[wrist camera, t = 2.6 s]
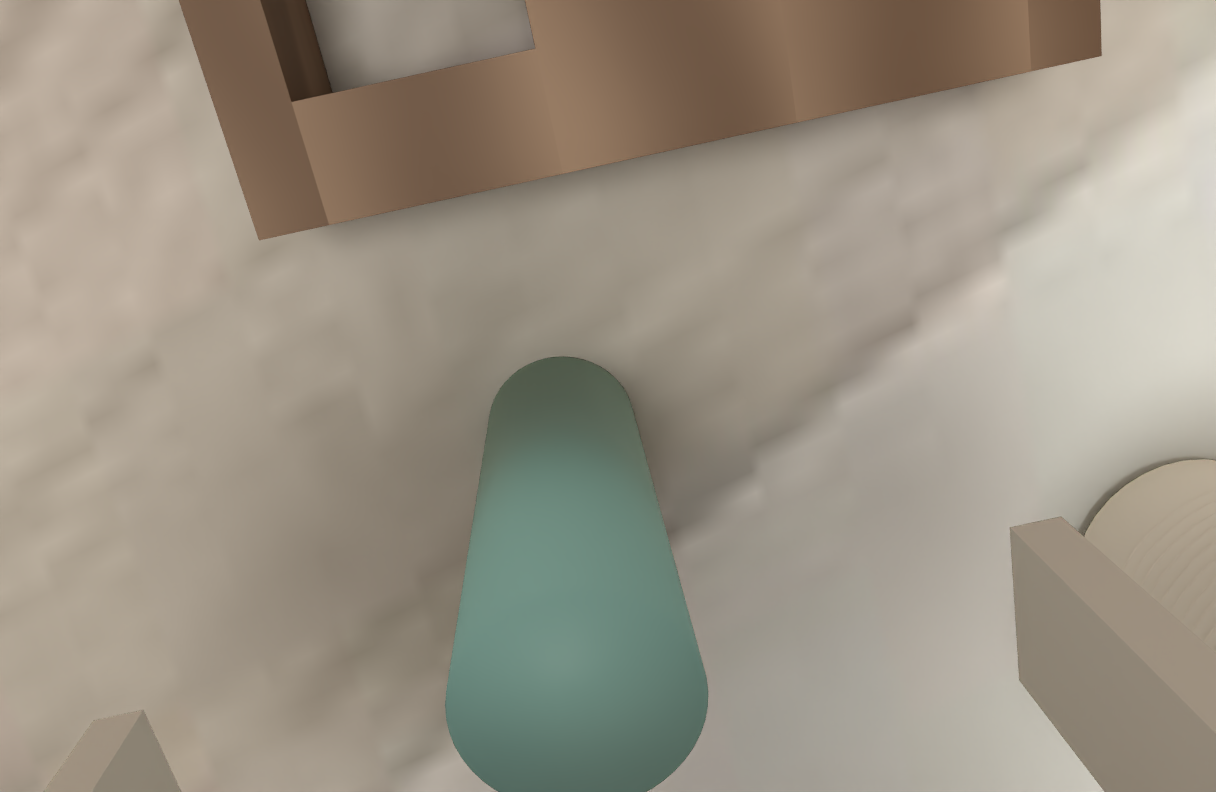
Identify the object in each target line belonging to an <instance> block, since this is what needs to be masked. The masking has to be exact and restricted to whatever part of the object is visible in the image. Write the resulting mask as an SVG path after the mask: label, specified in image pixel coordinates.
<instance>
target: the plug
mask: <svg viewBox="0 0 1216 792" xmlns="http://www.w3.org/2000/svg"><path fill="white" fill-rule="evenodd" d="M445 708H446V720H447V724H448V728H449V733H450V735H451V738H452V740H453V743H454V745H455V747H456V749H457V751H458V752H459V754H460V756H461V757H462V759H463V760H464V762H465V763H466V764H467V765H468V766H469V768H470V769H471V770H472V771H473V772H474V773H475V774H476V775H477V776H478V777H479V778H480V779H481V780H482V781H484V782H485V783H486V784H488V785H489V786H491V787H492V788H493V789H495V790H496V791H498V792H647V791H649V790H650V789H652V788H653V787H655V786H656V785H658V784H659V783H661V782H662V781H664V780H665V779H666V778H667V777H668V776H669V775H670V774H672V773H673V772H674V771H675V770H676V769H677V768H678V767H679V766H680V765H681V763H682V762H683V761H684V760H685V759H686V757H687V756H688V755H689V753H690V752H691V750H692V749H693V747H694V746H695V744H696V742H697V740H698V738H699V736H700V734H701V731H702V728H703V725H704V722H705V718H706V713H707V708H708V686H707V678H706V674H705V670H704V667H703V663H702V660H701V656H700V652H699V649H698V645H697V641H696V638H695V634H694V631H693V627H692V623H691V620H690V616H689V612H688V609H687V605H686V602H685V598H684V594H683V591H682V587H681V583H680V580H679V576H678V572H677V569H676V565H675V562H674V558H673V554H672V551H671V547H670V543H669V540H668V536H667V533H666V529H665V525H664V522H663V518H662V514H661V511H660V507H659V504H658V500H657V496H656V493H655V489H654V485H653V482H652V478H651V475H650V471H649V467H648V464H647V460H646V456H645V453H644V449H643V445H642V442H641V438H640V435H639V431H638V427H637V424H636V420H635V416H634V413H633V409H632V406H631V402H630V400H629V398H628V396H627V394H626V392H625V390H624V389H623V387H622V386H621V385H620V383H619V382H618V381H617V380H616V379H615V378H614V377H613V376H612V375H611V374H610V373H609V372H607V371H606V370H604V369H603V368H601V367H599V366H598V365H596V364H594V363H591V362H588V361H586V360H582V359H578V358H572V357H553V358H546V359H542V360H539V361H536V362H533V363H531V364H529V365H527V366H525V367H523V368H521V369H520V370H518V371H517V372H516V373H514V374H513V375H512V376H511V377H510V378H509V379H508V380H507V381H506V382H505V383H504V384H503V386H502V387H501V388H500V390H499V392H498V393H497V395H496V397H495V399H494V402H493V404H492V407H491V411H490V416H489V422H488V428H487V435H486V441H485V447H484V454H483V460H482V467H481V473H480V479H479V486H478V492H477V498H476V505H475V511H474V518H473V524H472V530H471V537H470V543H469V549H468V556H467V562H466V569H465V575H464V581H463V588H462V594H461V600H460V607H459V613H458V620H457V626H456V632H455V639H454V645H453V651H452V658H451V664H450V670H449V677H448V683H447V690H446V701H445Z"/></svg>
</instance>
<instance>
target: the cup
mask: <svg viewBox="0 0 1216 792" xmlns="http://www.w3.org/2000/svg"><path fill="white" fill-rule="evenodd" d="M1084 537H1085V538H1086V539H1087V540H1088V541H1089V542H1091V543H1092V544H1093V545H1094V546H1095V547H1096V548H1097V549H1098V550H1100V551H1101V552H1102V553H1103V554H1104V555H1105V556H1106V557H1108V558H1109V559H1110V560H1111V561H1112V562H1113V563H1114V564H1116V565H1117V566H1118V567H1119V568H1120V569H1121V570H1122V571H1123V572H1125V573H1126V574H1127V575H1128V576H1129V577H1130V578H1131V579H1133V580H1134V581H1135V582H1136V583H1137V584H1138V585H1139V586H1141V587H1142V588H1143V589H1144V590H1145V591H1146V592H1147V593H1149V594H1150V595H1151V596H1152V597H1153V598H1154V599H1155V600H1156V601H1158V602H1159V603H1160V604H1161V605H1162V606H1163V607H1164V608H1166V609H1167V610H1168V611H1169V612H1170V613H1171V614H1172V615H1174V616H1175V617H1176V618H1177V619H1178V620H1179V621H1180V622H1182V623H1183V624H1184V625H1185V626H1186V627H1187V628H1188V629H1189V630H1191V631H1192V632H1193V633H1194V634H1195V635H1196V636H1197V637H1199V638H1200V639H1201V640H1202V641H1203V642H1204V643H1205V644H1207V645H1208V646H1209V647H1210V648H1211V649H1212V650H1213V651H1215V652H1216V461H1215V460H1208V459H1201V460H1184V461H1180V462H1175V463H1171V464H1167V465H1163V466H1161V467H1159V468H1156V469H1154V470H1151V471H1149V472H1147V473H1144V474H1143V475H1141V476H1139V477H1138V478H1136V479H1135V480H1133V481H1131V482H1130V483H1128V484H1126V485H1125V486H1124V487H1123V488H1122V489H1121V490H1119V491H1118V492H1117V493H1116V494H1115V495H1114V496H1112V497H1111V498H1110V499H1109V500H1108V501H1107V503H1106V504H1105V505H1104V506H1103V507H1102V508H1101V510H1100V511H1099V512H1098V513H1097V514H1096V516H1095V517H1094V519H1093V521H1092V523H1091V524H1090V526H1089V528H1088V529H1087V531H1086V533H1085V535H1084Z"/></svg>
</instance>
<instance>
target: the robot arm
mask: <svg viewBox="0 0 1216 792" xmlns="http://www.w3.org/2000/svg"><path fill="white" fill-rule="evenodd" d="M1010 539H1011V555H1012V571H1013V587H1014V603H1015V619H1016V636H1017V652H1018V668H1019V680H1020V682H1021V683H1022V684H1023V686H1024V687H1025V688H1026V690H1027V691H1028V692H1029V694H1030V695H1031V696H1032V697H1033V699H1034V700H1035V701H1036V703H1037V704H1038V705H1039V707H1040V708H1041V709H1042V711H1043V712H1044V713H1045V714H1046V716H1047V717H1048V718H1049V720H1050V721H1051V722H1052V724H1053V725H1054V726H1055V727H1056V729H1057V730H1058V731H1059V733H1060V734H1061V735H1062V737H1063V738H1064V739H1065V741H1066V742H1067V743H1068V744H1069V746H1070V747H1071V748H1072V750H1073V751H1074V752H1075V754H1076V755H1077V756H1078V758H1079V759H1080V760H1081V761H1082V763H1083V764H1084V765H1085V767H1086V768H1087V769H1088V771H1089V772H1090V773H1091V775H1092V776H1093V777H1094V778H1095V780H1096V781H1097V782H1098V784H1099V785H1100V786H1101V788H1102V789H1103V790H1104V792H1216V652H1215V651H1213V650H1212V649H1211V648H1210V647H1209V646H1208V645H1207V644H1205V643H1204V642H1203V641H1202V640H1201V639H1200V638H1199V637H1197V636H1196V635H1195V634H1194V633H1193V632H1192V631H1191V630H1189V629H1188V628H1187V627H1186V626H1185V625H1184V624H1183V623H1182V622H1180V621H1179V620H1178V619H1177V618H1176V617H1175V616H1174V615H1172V614H1171V613H1170V612H1169V611H1168V610H1167V609H1166V608H1164V607H1163V606H1162V605H1161V604H1160V603H1159V602H1158V601H1156V600H1155V599H1154V598H1153V597H1152V596H1151V595H1150V594H1149V593H1147V592H1146V591H1145V590H1144V589H1143V588H1142V587H1141V586H1139V585H1138V584H1137V583H1136V582H1135V581H1134V580H1133V579H1131V578H1130V577H1129V576H1128V575H1127V574H1126V573H1125V572H1123V571H1122V570H1121V569H1120V568H1119V567H1118V566H1117V565H1116V564H1114V563H1113V562H1112V561H1111V560H1110V559H1109V558H1108V557H1106V556H1105V555H1104V554H1103V553H1102V552H1101V551H1100V550H1098V549H1097V548H1096V547H1095V546H1094V545H1093V544H1092V543H1091V542H1089V541H1088V540H1087V539H1086V538H1085V537H1084V536H1083V535H1081V534H1080V533H1079V532H1078V531H1077V530H1076V529H1075V528H1073V527H1072V526H1071V525H1070V524H1069V523H1068V522H1067V521H1065V520H1064V519H1063V518H1062V517H1057V518H1052V519H1047V520H1043V521H1038V522H1033V523H1028V524H1024V525H1019V526H1014V527H1010ZM44 792H181V790H180V788H179V786H178V784H177V781H176V779H175V777H174V775H173V773H172V771H171V768H170V766H169V764H168V762H167V760H166V758H165V755H164V753H163V751H162V749H161V747H160V745H159V742H158V740H157V738H156V736H155V734H154V732H153V730H152V727H151V725H150V723H149V721H148V719H147V717H146V714H145V712H144V710H141V711H136V712H131V713H127V714H122V715H117V716H113V717H108V718H103V719H98V720H94V721H93V722H92V723H91V725H90V726H89V728H88V729H87V731H86V732H85V733H84V735H83V736H82V738H81V739H80V741H79V742H78V743H77V745H76V746H75V748H74V749H73V751H72V752H71V753H70V755H69V756H68V758H67V759H66V761H65V762H64V763H63V765H62V766H61V768H60V769H59V771H58V772H57V773H56V775H55V776H54V778H53V779H52V781H51V782H50V783H49V785H48V786H47V788H46V789H45V791H44Z"/></svg>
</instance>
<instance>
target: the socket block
mask: <svg viewBox="0 0 1216 792" xmlns="http://www.w3.org/2000/svg"><path fill="white" fill-rule="evenodd" d="M179 2H180V5H181V8H182V11H183V14H184V17H185V20H186V23H187V26H188V29H189V32H190V35H191V38H192V41H193V44H194V47H195V50H196V53H197V56H198V59H199V62H200V65H201V68H202V71H203V74H204V77H205V80H206V83H207V86H208V89H209V92H210V95H211V98H212V101H213V104H214V107H215V110H216V113H217V116H218V119H219V122H220V125H221V128H222V131H223V134H224V137H225V140H226V143H227V146H228V149H229V152H230V155H231V158H232V161H233V164H234V167H235V170H236V173H237V176H238V179H239V182H240V185H241V188H242V191H243V194H244V197H245V200H246V203H247V206H248V209H249V212H250V215H251V218H252V221H253V224H254V227H255V230H256V233H257V236H258V239H259V240H263V239H267V238H272V237H276V236H281V235H286V234H290V233H295V232H299V231H304V230H308V229H313V228H318V227H322V226H327V225H331V224H336V223H340V222H345V221H349V220H354V219H359V218H363V217H368V216H372V215H377V214H381V213H386V212H391V211H395V210H400V209H404V208H409V207H413V206H418V205H423V204H427V203H432V202H436V201H441V200H445V199H450V198H455V197H459V196H464V195H468V194H473V193H477V192H482V191H487V190H491V189H496V188H500V187H505V186H509V185H514V184H518V183H523V182H528V181H532V180H537V179H541V178H546V177H550V176H555V175H560V174H564V173H569V172H573V171H578V170H582V169H587V168H592V167H596V166H601V165H605V164H610V163H614V162H619V161H624V160H628V159H633V158H637V157H642V156H646V155H651V154H656V153H660V152H665V151H669V150H674V149H678V148H683V147H688V146H692V145H697V144H701V143H706V142H710V141H715V140H719V139H724V138H729V137H733V136H738V135H742V134H747V133H751V132H756V131H761V130H765V129H770V128H774V127H779V126H783V125H788V124H793V123H797V122H802V121H806V120H811V119H815V118H820V117H825V116H829V115H834V114H838V113H843V112H847V111H852V110H857V109H861V108H866V107H870V106H875V105H879V104H884V103H888V102H893V101H898V100H902V99H907V98H911V97H916V96H920V95H925V94H930V93H934V92H939V91H943V90H948V89H952V88H957V87H962V86H966V85H971V84H975V83H980V82H984V81H989V80H994V79H998V78H1003V77H1007V76H1012V75H1016V74H1021V73H1026V72H1030V71H1035V70H1039V69H1044V68H1048V67H1053V66H1057V65H1062V64H1067V63H1071V62H1076V61H1080V60H1085V59H1089V58H1094V57H1099V56H1102V52H1101V12H1100V0H525V3H526V8H527V12H528V17H529V22H530V26H531V31H532V35H533V40H534V45H535V49H531V50H527V51H522V52H517V53H513V54H508V55H504V56H499V57H495V58H490V59H486V60H481V61H476V62H472V63H467V64H463V65H458V66H454V67H449V68H445V69H440V70H435V71H431V72H426V73H422V74H417V75H413V76H408V77H403V78H399V79H394V80H390V81H385V82H381V83H376V84H372V85H367V86H362V87H358V88H353V89H349V90H344V91H340V92H335V93H332V90H331V87H330V83H329V80H328V77H327V73H326V70H325V66H324V63H323V59H322V56H321V53H320V49H319V46H318V42H317V39H316V35H315V32H314V29H313V25H312V22H311V18H310V15H309V11H308V8H307V5H306V1H305V0H179Z"/></svg>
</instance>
